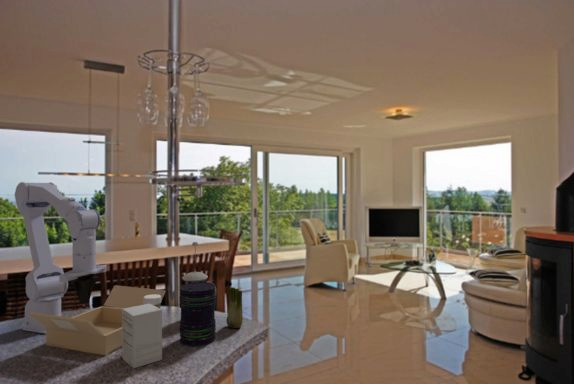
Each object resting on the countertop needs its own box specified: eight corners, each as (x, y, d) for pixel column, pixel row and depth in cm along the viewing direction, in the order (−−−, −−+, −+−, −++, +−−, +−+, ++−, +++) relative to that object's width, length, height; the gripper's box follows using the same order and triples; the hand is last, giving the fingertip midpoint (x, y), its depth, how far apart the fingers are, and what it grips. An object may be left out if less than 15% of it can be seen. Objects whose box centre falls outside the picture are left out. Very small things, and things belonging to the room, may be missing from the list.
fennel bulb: (244, 329, 123) (244, 289, 123) (227, 331, 122) (228, 290, 122) (240, 323, 129) (241, 284, 129) (225, 324, 127) (225, 285, 127)
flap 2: (114, 285, 134) (115, 286, 134) (103, 304, 129) (104, 305, 130) (165, 290, 127) (165, 291, 128) (155, 311, 123) (156, 312, 123)
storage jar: (198, 331, 122) (199, 280, 121) (223, 338, 116) (223, 285, 116) (171, 341, 113) (171, 287, 113) (196, 349, 108) (196, 292, 108)
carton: (46, 345, 110) (46, 326, 110) (102, 321, 129) (102, 306, 129) (106, 355, 104) (106, 335, 104) (155, 329, 123) (155, 312, 123)
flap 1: (46, 326, 110) (44, 328, 109) (29, 312, 105) (28, 314, 105) (104, 334, 103) (102, 337, 103) (89, 320, 99) (87, 322, 98)
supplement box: (150, 351, 107) (150, 302, 106) (162, 360, 101) (162, 309, 101) (121, 359, 102) (121, 308, 102) (132, 369, 96) (132, 315, 96)
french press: (181, 315, 136) (181, 239, 136) (217, 314, 137) (217, 239, 137) (176, 325, 126) (176, 244, 126) (215, 324, 127) (215, 243, 127)
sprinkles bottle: (163, 347, 109) (163, 296, 109) (145, 350, 107) (145, 299, 107) (158, 341, 113) (158, 292, 113) (141, 345, 111) (141, 295, 110)
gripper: (74, 259, 105) (74, 312, 105) (115, 250, 119) (115, 297, 119) (53, 257, 107) (53, 309, 108) (95, 249, 121) (95, 295, 121)
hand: (84, 303), depth 113 cm, fingers closed
